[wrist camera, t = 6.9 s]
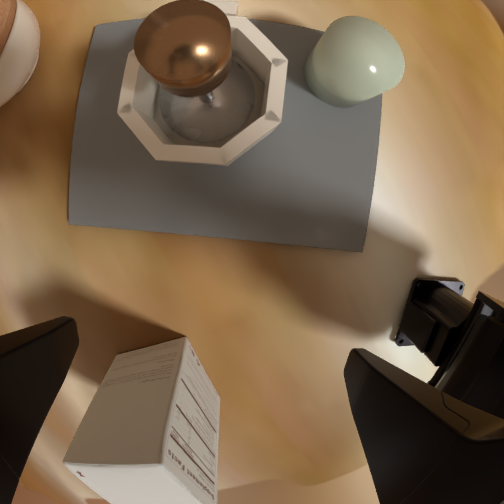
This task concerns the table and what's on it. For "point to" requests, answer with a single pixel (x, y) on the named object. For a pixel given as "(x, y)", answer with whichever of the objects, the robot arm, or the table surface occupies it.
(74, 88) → the table surface
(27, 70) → the lidded jar
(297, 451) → the table surface
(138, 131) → the octagonal white frame
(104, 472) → the supplement box
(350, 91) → the sage green dome
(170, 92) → the coffee tamper
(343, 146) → the slate tray
